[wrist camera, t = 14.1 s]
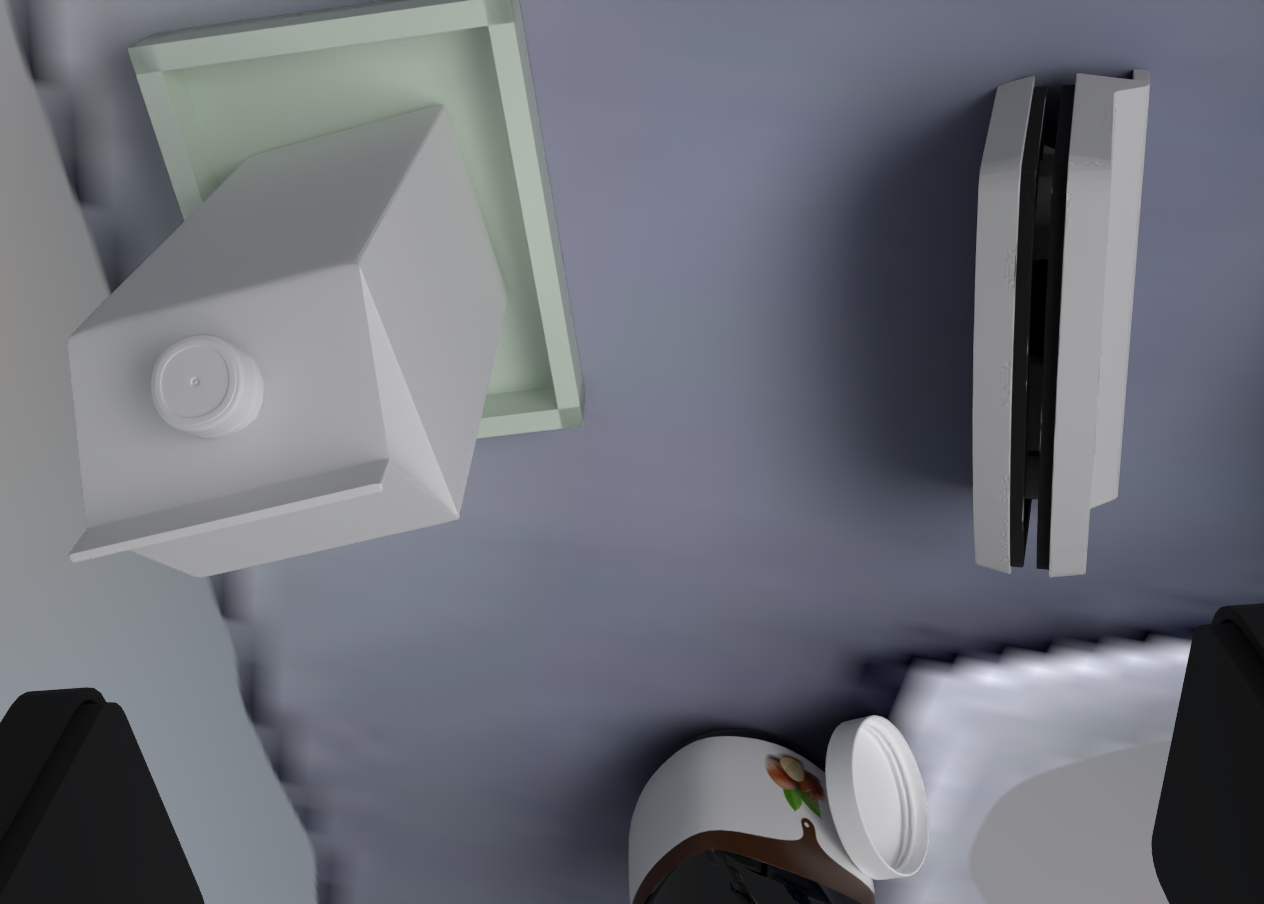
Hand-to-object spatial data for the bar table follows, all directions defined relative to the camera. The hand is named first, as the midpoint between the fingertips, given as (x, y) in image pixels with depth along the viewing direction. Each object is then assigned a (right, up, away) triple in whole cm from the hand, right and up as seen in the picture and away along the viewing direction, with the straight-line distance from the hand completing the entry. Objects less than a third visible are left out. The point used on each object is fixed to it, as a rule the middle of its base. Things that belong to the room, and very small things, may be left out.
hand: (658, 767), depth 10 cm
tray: (-9, +11, +31) cm, 34 cm away
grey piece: (+14, +8, +33) cm, 37 cm away
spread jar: (+7, -12, +45) cm, 47 cm away
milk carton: (-9, +11, +31) cm, 34 cm away
